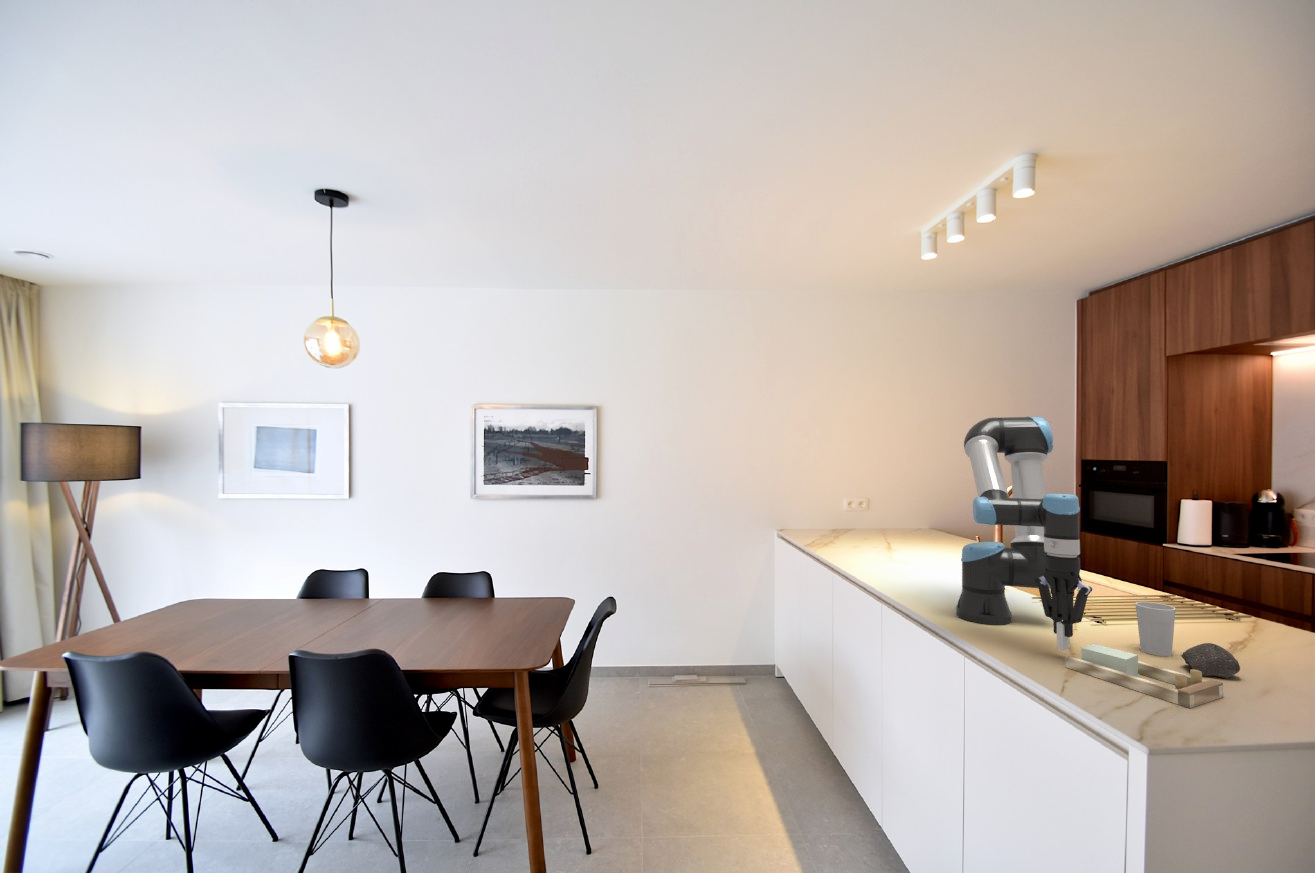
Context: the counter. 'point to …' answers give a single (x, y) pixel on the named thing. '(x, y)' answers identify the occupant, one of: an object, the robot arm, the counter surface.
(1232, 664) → the stone
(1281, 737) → the counter surface
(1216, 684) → the wooden u-shaped frame
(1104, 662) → the block
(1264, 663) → the counter surface
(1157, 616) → the cup
